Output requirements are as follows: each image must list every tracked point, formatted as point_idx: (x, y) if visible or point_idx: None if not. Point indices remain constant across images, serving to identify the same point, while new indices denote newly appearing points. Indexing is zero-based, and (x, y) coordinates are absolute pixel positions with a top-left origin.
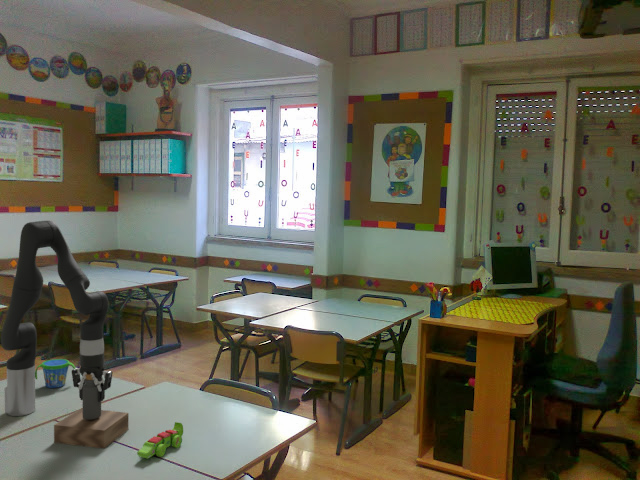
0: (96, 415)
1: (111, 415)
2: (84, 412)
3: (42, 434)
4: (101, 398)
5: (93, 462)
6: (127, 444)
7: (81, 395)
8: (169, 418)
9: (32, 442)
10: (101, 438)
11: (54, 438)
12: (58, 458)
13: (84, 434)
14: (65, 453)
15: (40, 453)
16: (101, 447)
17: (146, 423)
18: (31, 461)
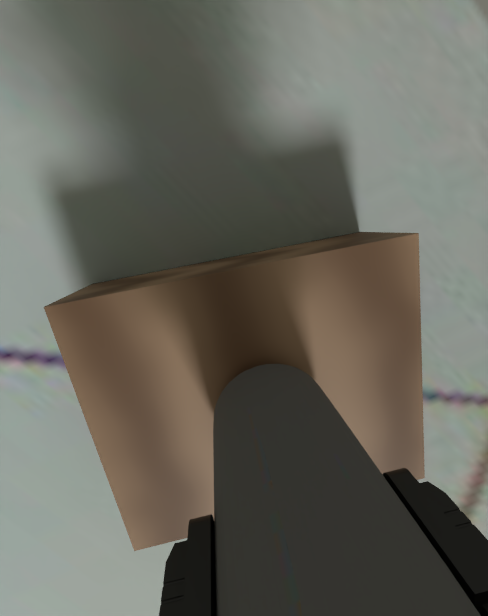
0: (215, 414)
1: (195, 485)
2: (292, 385)
3: (464, 276)
4: (175, 565)
5: (7, 133)
6: (29, 364)
7: (425, 509)
8: (81, 613)
9: (453, 192)
10: (89, 291)
11: (368, 232)
12: (213, 97)
13: (198, 271)
14: (224, 160)
15: (338, 108)
16: (106, 281)
17: (130, 543)
18: (315, 7)
